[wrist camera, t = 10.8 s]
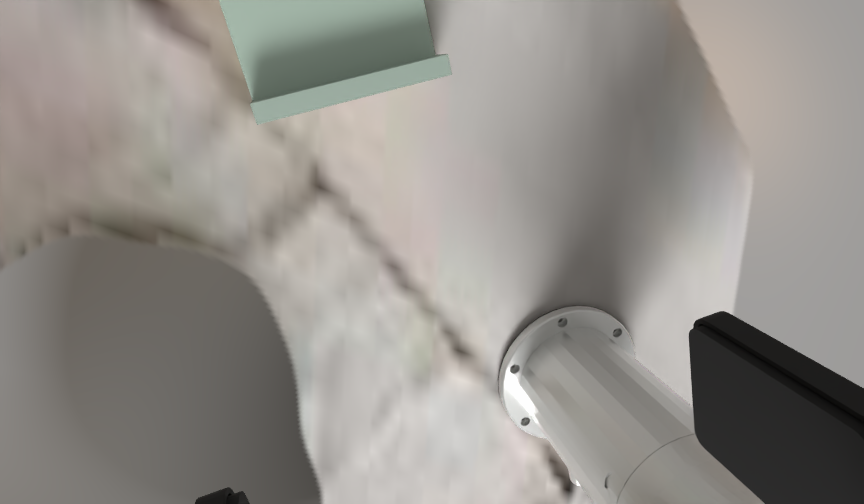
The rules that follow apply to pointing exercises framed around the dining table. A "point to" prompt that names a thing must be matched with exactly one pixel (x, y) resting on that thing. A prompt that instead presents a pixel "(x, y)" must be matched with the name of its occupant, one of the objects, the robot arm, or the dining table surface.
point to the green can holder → (329, 51)
